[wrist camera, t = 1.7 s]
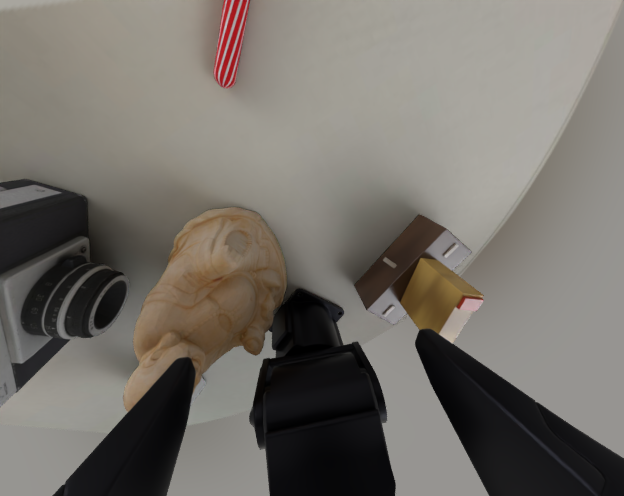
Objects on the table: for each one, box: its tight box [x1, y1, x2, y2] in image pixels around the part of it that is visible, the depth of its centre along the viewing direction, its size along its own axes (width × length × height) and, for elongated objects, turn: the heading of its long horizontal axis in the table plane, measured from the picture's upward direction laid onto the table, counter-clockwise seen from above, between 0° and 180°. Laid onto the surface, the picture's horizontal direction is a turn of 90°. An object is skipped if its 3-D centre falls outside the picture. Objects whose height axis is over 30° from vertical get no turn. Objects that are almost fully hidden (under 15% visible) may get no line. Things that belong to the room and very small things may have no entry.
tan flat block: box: [400, 258, 484, 344], centre depth 18 cm, size 5×2×5 cm, turn 168°
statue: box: [123, 207, 287, 412], centre depth 17 cm, size 12×14×10 cm
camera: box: [0, 179, 129, 407], centre depth 15 cm, size 14×9×10 cm, turn 152°
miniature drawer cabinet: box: [354, 214, 472, 325], centre depth 22 cm, size 10×9×4 cm
